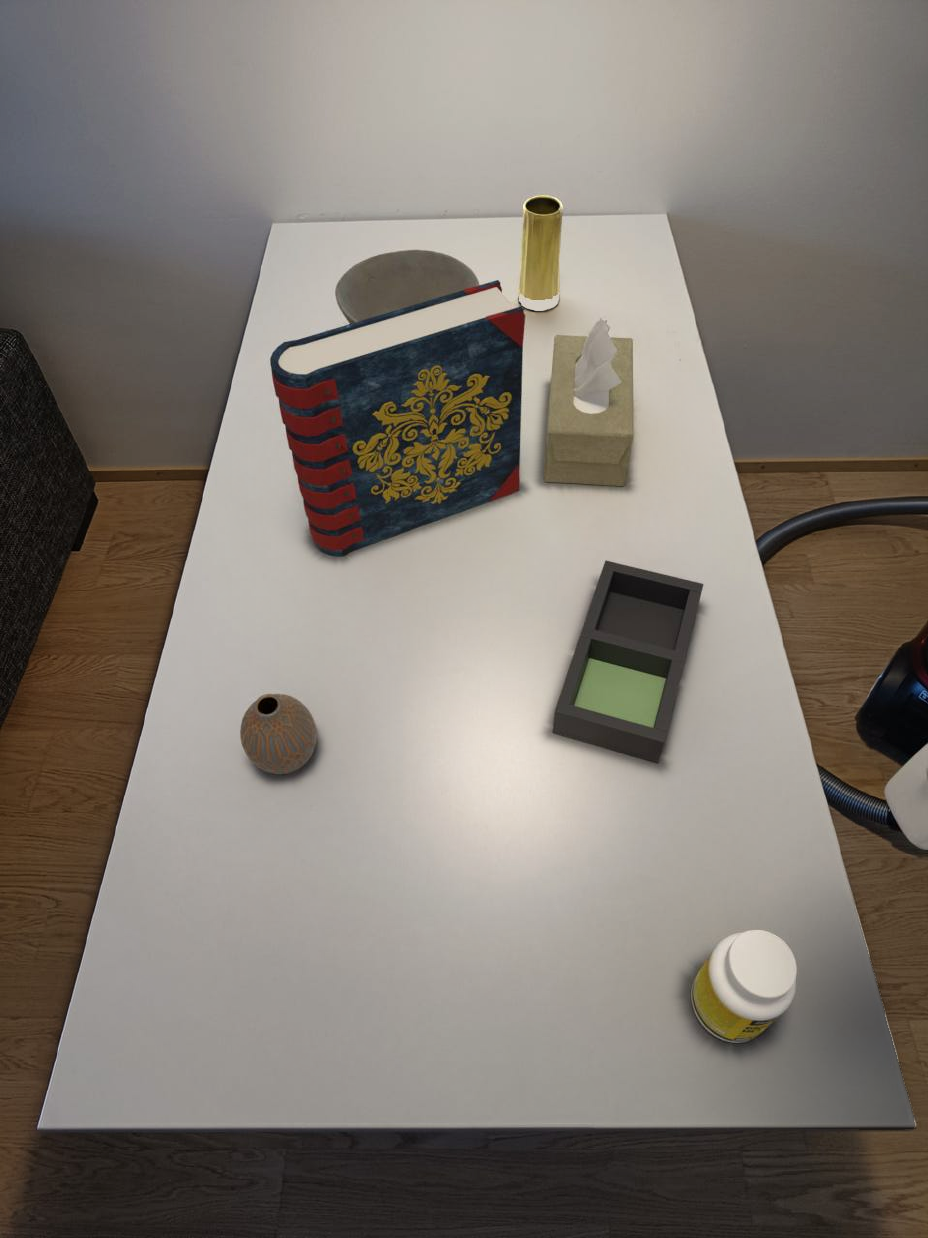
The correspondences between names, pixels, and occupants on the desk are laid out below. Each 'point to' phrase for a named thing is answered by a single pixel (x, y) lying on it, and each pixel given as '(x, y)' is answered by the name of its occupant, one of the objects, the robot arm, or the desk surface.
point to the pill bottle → (744, 985)
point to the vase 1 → (278, 733)
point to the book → (404, 415)
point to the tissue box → (590, 409)
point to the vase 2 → (540, 248)
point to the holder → (628, 661)
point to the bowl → (399, 282)
